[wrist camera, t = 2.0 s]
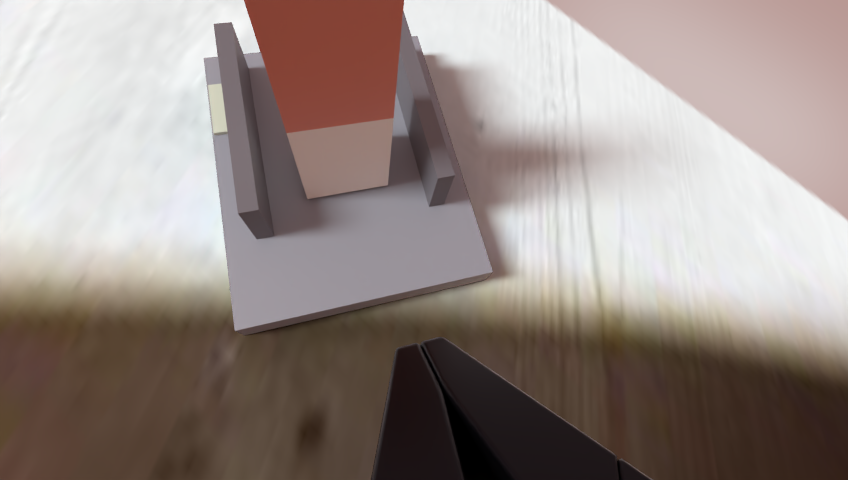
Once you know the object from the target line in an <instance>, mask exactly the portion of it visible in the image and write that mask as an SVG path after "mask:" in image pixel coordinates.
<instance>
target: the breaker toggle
mask: <svg viewBox="0 0 848 480" xmlns="http://www.w3.org/2000/svg"><path fill="white" fill-rule="evenodd" d="M244 2H245V5H246V8H247V11H248V14H249V17H250V20H251V24H252V27H253V30H254V33H255V36H256V39H257V42H258V45H259V49H260V52H261V55H262V58H263V61H264V64H265V67H266V71H267V74H268V77H269V80H270V83H271V86H272V89H273V93H274V96H275V99H276V102H277V105H278V108H279V111H280V115H281V118H282V121H283V124H284V127H285V130H286V133H287V137H288V140H289V143H290V146H291V149H292V152H293V155H294V159H295V162H296V165H297V168H298V171H299V174H300V177H301V181H302V184H303V187H304V190H305V193H306V196H307V199H312V198H317V197H323V196H329V195H334V194H340V193H346V192H352V191H357V190H363V189H369V188H375V187H380V186H386V185H388V178H389V166H390V155H391V143H392V132H393V120H394V109H395V97H396V86H397V74H398V63H399V51H400V40H401V28H402V16H403V5H404V0H244Z"/></svg>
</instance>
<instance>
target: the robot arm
mask: <svg viewBox="0 0 848 480" xmlns="http://www.w3.org/2000/svg"><path fill="white" fill-rule="evenodd" d="M371 480H653V479H651V478H649V477H648V476H647V475H645V474H644V473H642V472H641V471H639V470H638V469H636V468H635V467H633V466H632V465H630V464H629V463H627V462H626V461H625V460H623V459H619V460H618V461H617V456H616V455H615V454H614V453H612V452H611V451H609V450H608V449H607V448H605V447H604V446H602V445H601V444H599V443H598V442H596V441H595V440H593V439H592V438H590V437H589V436H588V435H586V434H585V433H583V432H582V431H580V430H579V429H577V428H576V427H574V426H573V425H571V424H570V423H568V422H567V421H566V420H564V419H563V418H561V417H560V416H558V415H557V414H555V413H554V412H552V411H551V410H549V409H548V408H547V407H545V406H544V405H542V404H541V403H539V402H538V401H536V400H535V399H533V398H532V397H530V396H529V395H527V394H526V393H525V392H523V391H522V390H520V389H519V388H517V387H516V386H514V385H513V384H511V383H510V382H508V381H507V380H505V379H504V378H503V377H501V376H500V375H498V374H497V373H495V372H494V371H492V370H491V369H489V368H488V367H486V366H485V365H484V364H482V363H481V362H479V361H478V360H476V359H475V358H473V357H472V356H470V355H469V354H467V353H466V352H464V351H463V350H462V349H460V348H459V347H457V346H456V345H454V344H453V343H451V342H450V341H448V340H447V339H445V338H443V337H438V338H434V339H430V340H426V341H423V342H422V343H421V345H419V344H417V343H414V344H410V345H406V346H403V347H399V348H397V349H396V351H395V356H394V361H393V367H392V372H391V377H390V382H389V388H388V393H387V398H386V403H385V409H384V414H383V419H382V424H381V430H380V435H379V440H378V445H377V451H376V456H375V461H374V466H373V472H372V477H371Z"/></svg>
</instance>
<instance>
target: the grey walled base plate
mask: <svg viewBox="0 0 848 480" xmlns="http://www.w3.org/2000/svg"><path fill="white" fill-rule="evenodd" d="M214 29H215V37H216V45H217V53H218V57H211V58H204V64H205V72H206V81H207V90H208V99H209V108H210V116H211V125H212V134H213V143H214V152H215V160H216V169H217V178H218V187H219V196H220V204H221V213H222V222H223V231H224V240H225V248H226V257H227V266H228V275H229V284H230V292H231V301H232V310H233V319H234V328H235V331H236V332H238V333H240V334H243V335H249V334H253V333H257V332H262V331H266V330H270V329H275V328H279V327H283V326H288V325H292V324H296V323H301V322H305V321H309V320H314V319H318V318H322V317H327V316H331V315H335V314H340V313H344V312H348V311H353V310H357V309H361V308H365V307H370V306H374V305H378V304H383V303H387V302H391V301H396V300H400V299H404V298H409V297H413V296H417V295H422V294H426V293H430V292H435V291H439V290H443V289H448V288H452V287H456V286H461V285H465V284H469V283H474V282H478V281H482V280H485V279H486V278H487V277H488V276H489V275H490V274H491V273H492V272H493V270H492V267H491V264H490V261H489V258H488V255H487V252H486V249H485V245H484V242H483V239H482V236H481V233H480V230H479V227H478V224H477V220H476V217H475V214H474V211H473V208H472V205H471V202H470V199H469V196H468V192H467V189H466V186H465V183H464V180H463V177H462V174H461V171H460V168H459V164H458V161H457V158H456V155H455V152H454V149H453V146H452V143H451V139H450V136H449V133H448V130H447V127H446V124H445V121H444V118H443V115H442V111H441V108H440V105H439V102H438V99H437V96H436V93H435V90H434V87H433V83H432V80H431V77H430V74H429V71H428V68H427V65H426V62H425V58H424V55H423V52H422V49H421V46H420V43H419V40H418V37H417V36H413V37H411V34H410V30H409V27H408V24H407V21H406V18H405V15H404V11H403V16H402V28H401V40H400V51H399V63H398V74H397V86H396V97H395V109H394V120H393V132H392V143H391V155H390V166H389V178H388V185H386V186H380V187H375V188H369V189H363V190H357V191H352V192H346V193H340V194H334V195H329V196H323V197H317V198H312V199H307V196H306V193H305V190H304V187H303V184H302V181H301V177H300V174H299V171H298V168H297V165H296V162H295V159H294V155H293V152H292V149H291V146H290V143H289V140H288V137H287V133H286V130H285V127H284V124H283V121H282V118H281V115H280V111H279V108H278V105H277V102H276V99H275V96H274V93H273V89H272V86H271V83H270V80H269V77H268V74H267V71H266V67H265V64H264V61H263V58H262V55H261V52H259V53H249V54H243V52H242V49H241V47H240V44H239V41H238V38H237V36H236V33H235V30H234V28H233V25H232V22H230V23H219V24H214Z"/></svg>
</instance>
